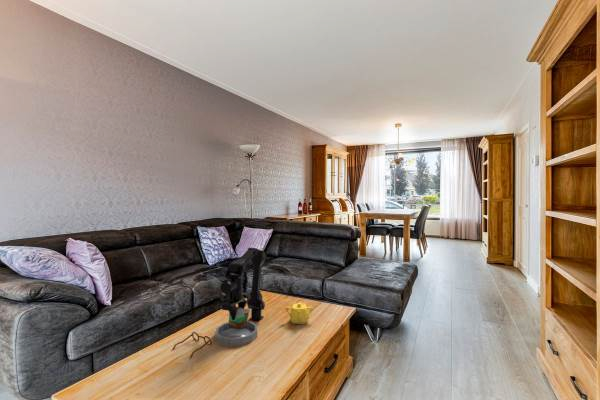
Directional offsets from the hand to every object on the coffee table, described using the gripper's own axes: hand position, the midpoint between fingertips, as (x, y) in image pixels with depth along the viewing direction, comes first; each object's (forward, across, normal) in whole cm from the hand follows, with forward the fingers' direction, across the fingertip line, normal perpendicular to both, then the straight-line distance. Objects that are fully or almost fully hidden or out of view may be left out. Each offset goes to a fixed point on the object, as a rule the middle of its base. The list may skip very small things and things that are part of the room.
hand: (236, 317), depth 151 cm
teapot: (+10, -27, +24) cm, 37 cm away
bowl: (+9, 0, 0) cm, 9 cm away
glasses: (+10, +18, -13) cm, 25 cm away
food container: (+5, +1, 0) cm, 5 cm away
